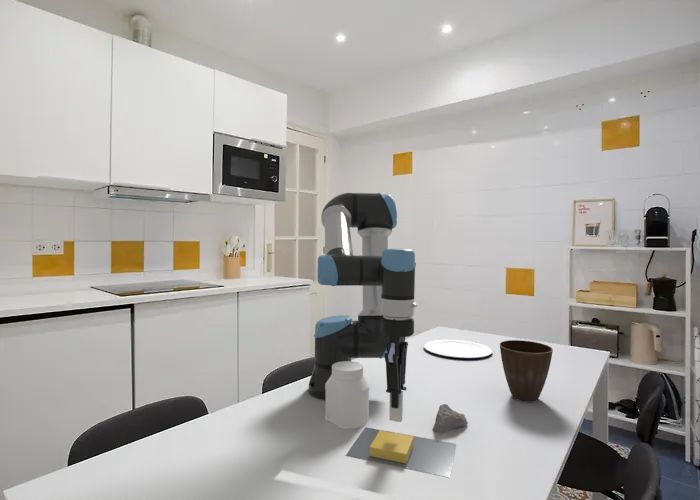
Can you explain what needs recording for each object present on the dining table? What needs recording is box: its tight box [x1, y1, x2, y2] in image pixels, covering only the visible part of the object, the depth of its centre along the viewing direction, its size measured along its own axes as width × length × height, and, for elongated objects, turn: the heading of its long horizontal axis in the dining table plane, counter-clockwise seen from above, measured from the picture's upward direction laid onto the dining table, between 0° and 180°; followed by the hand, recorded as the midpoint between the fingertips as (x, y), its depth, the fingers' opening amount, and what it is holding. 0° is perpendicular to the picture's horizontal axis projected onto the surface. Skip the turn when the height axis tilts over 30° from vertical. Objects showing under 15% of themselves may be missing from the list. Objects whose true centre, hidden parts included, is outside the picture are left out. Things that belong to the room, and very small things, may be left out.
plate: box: [423, 339, 493, 360], centre depth 174 cm, size 29×29×2 cm
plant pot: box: [499, 339, 554, 403], centre depth 121 cm, size 15×15×16 cm
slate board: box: [345, 426, 457, 479], centre depth 88 cm, size 22×14×1 cm, turn 70°
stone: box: [431, 403, 469, 434], centre depth 100 cm, size 10×8×6 cm
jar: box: [324, 360, 370, 430], centre depth 103 cm, size 12×10×15 cm
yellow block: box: [370, 429, 415, 463], centre depth 87 cm, size 8×2×8 cm
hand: (395, 419), depth 90 cm, fingers closed
